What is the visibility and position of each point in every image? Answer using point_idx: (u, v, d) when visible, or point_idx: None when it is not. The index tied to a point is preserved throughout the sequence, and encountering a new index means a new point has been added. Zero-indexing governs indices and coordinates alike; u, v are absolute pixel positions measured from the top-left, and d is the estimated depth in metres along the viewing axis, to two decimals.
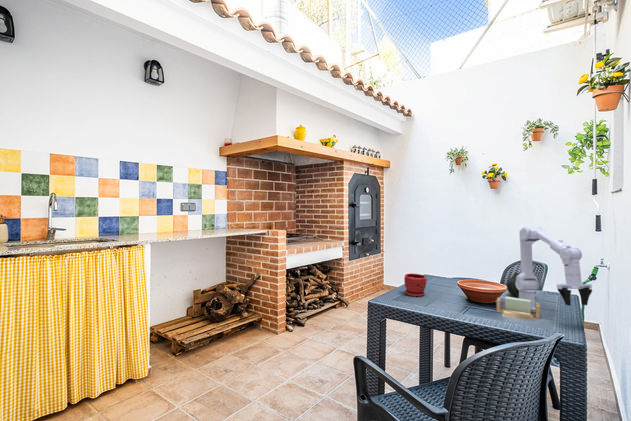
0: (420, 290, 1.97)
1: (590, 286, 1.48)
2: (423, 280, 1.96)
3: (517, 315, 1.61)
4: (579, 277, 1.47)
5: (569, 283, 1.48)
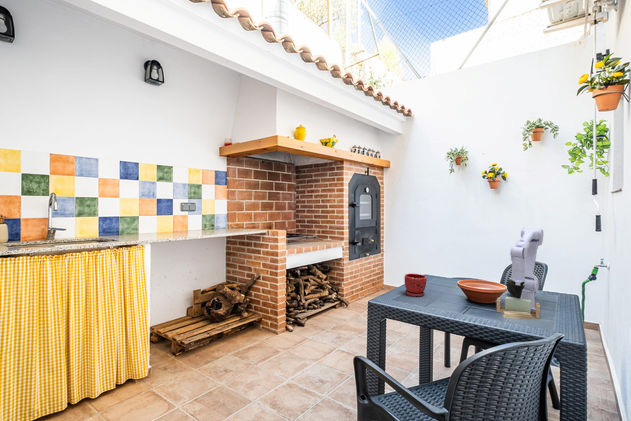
0: (420, 290, 1.97)
1: (515, 282, 1.63)
2: (423, 280, 1.96)
3: (518, 315, 1.60)
4: (512, 272, 1.69)
5: None
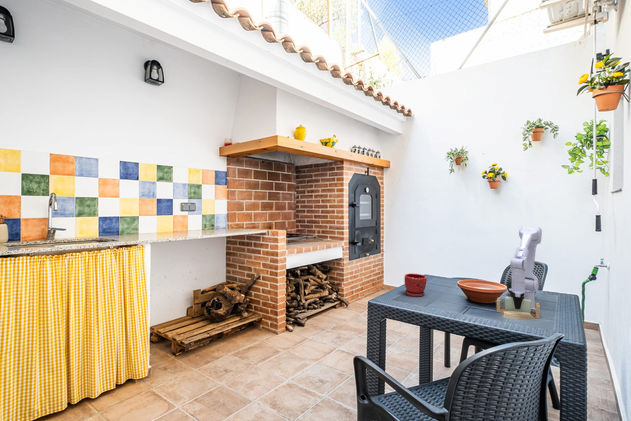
0: (420, 290, 1.97)
1: (515, 294, 1.63)
2: (423, 280, 1.96)
3: (518, 315, 1.60)
4: None
5: None
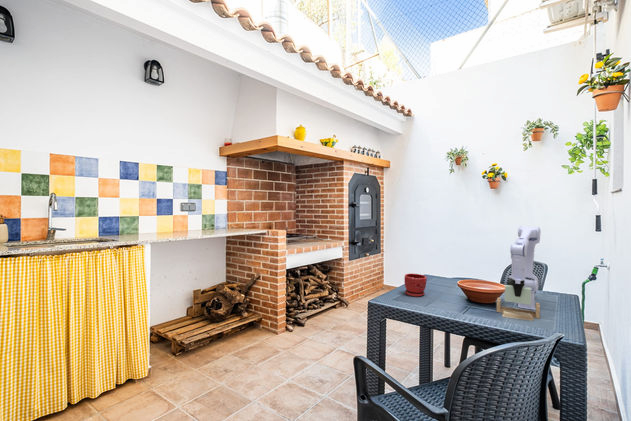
0: (420, 290, 1.97)
1: None
2: (423, 280, 1.96)
3: (517, 315, 1.60)
4: None
5: None
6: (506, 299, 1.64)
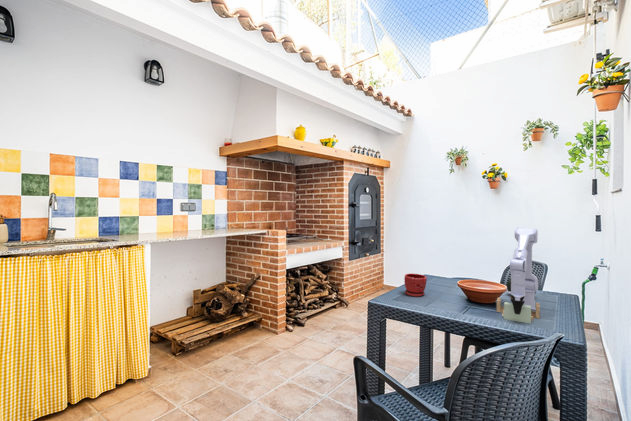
0: (420, 290, 1.97)
1: (515, 297, 1.53)
2: (423, 280, 1.96)
3: None
4: (511, 285, 1.59)
5: None
6: (505, 317, 1.59)
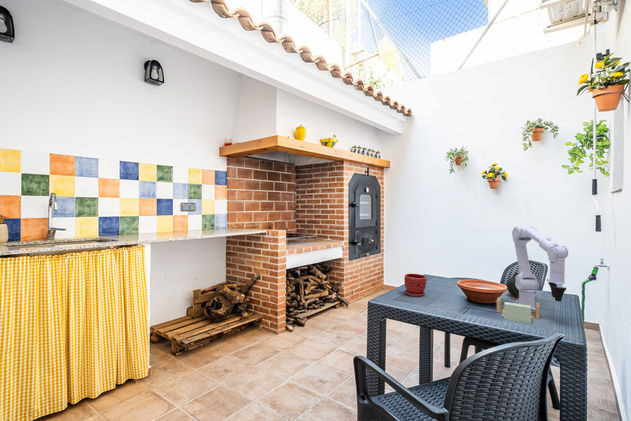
0: (420, 290, 1.97)
1: (557, 284, 1.52)
2: (423, 280, 1.96)
3: None
4: (550, 273, 1.58)
5: None
6: (505, 317, 1.59)
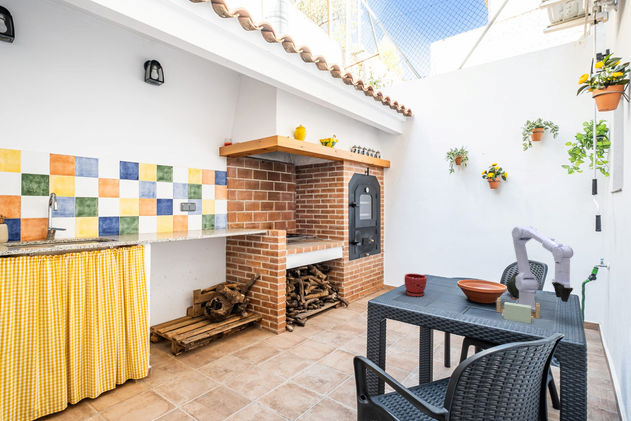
0: (420, 290, 1.97)
1: (564, 285, 1.52)
2: (423, 280, 1.96)
3: None
4: (556, 273, 1.58)
5: None
6: (505, 317, 1.59)
